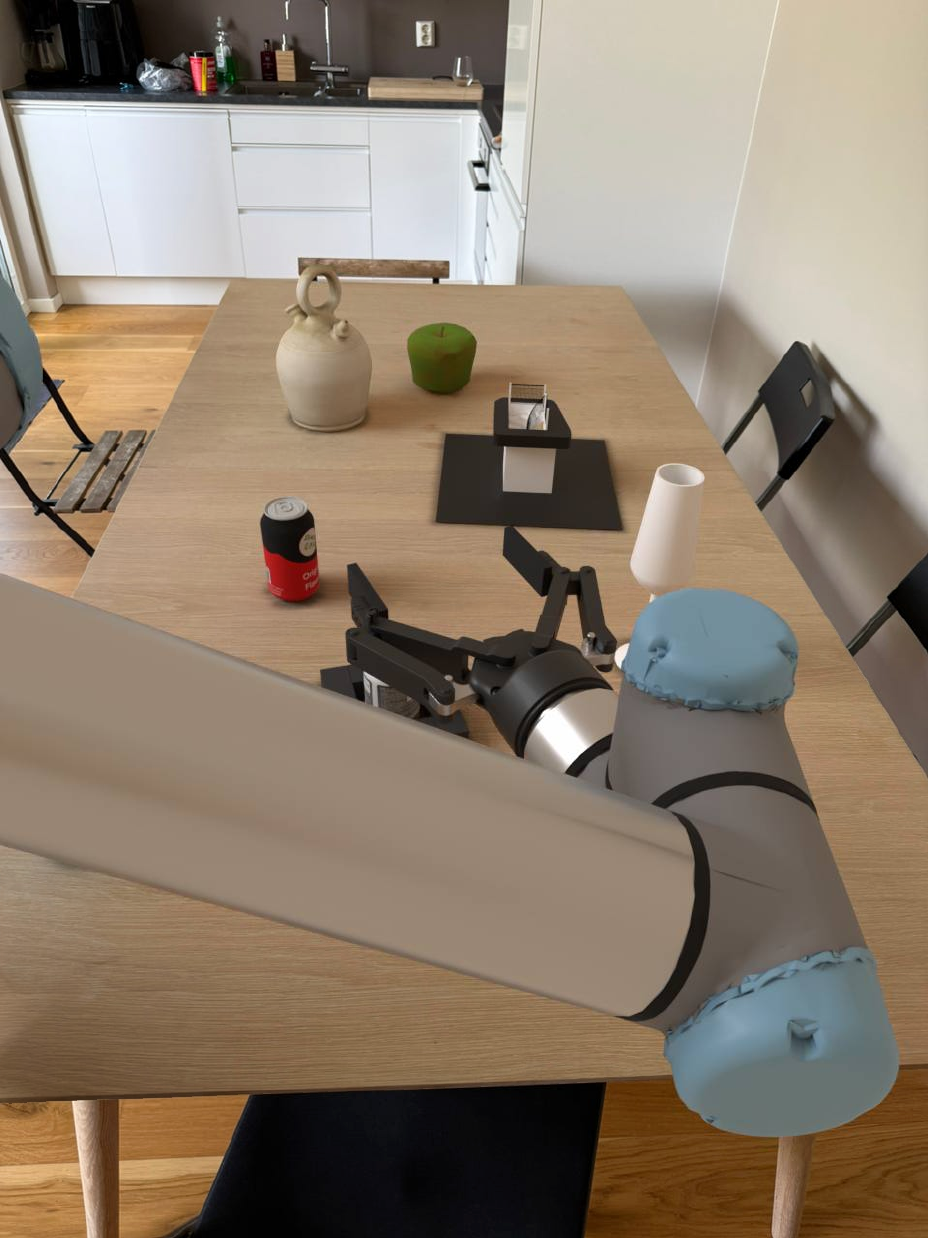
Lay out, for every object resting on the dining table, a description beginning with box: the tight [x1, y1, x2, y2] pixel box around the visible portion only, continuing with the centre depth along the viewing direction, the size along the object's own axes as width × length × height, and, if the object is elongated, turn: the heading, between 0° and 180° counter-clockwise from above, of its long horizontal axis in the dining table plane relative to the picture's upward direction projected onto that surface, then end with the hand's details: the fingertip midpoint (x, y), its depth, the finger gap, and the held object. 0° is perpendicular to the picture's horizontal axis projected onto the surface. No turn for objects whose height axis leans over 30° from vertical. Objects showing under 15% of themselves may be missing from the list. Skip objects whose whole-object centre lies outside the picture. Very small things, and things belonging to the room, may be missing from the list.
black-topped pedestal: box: [435, 382, 623, 531], centre depth 132 cm, size 28×26×13 cm
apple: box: [406, 322, 478, 396], centre depth 159 cm, size 12×12×11 cm
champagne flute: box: [614, 463, 705, 670], centre depth 95 cm, size 7×7×24 cm
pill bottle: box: [364, 672, 421, 720], centre depth 91 cm, size 6×6×10 cm
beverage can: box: [259, 496, 321, 603], centre depth 108 cm, size 6×6×12 cm
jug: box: [275, 263, 373, 433], centre depth 143 cm, size 15×16×25 cm
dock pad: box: [319, 664, 470, 740], centre depth 93 cm, size 13×13×2 cm
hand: (432, 558), depth 71 cm, fingers open, 13 cm apart
